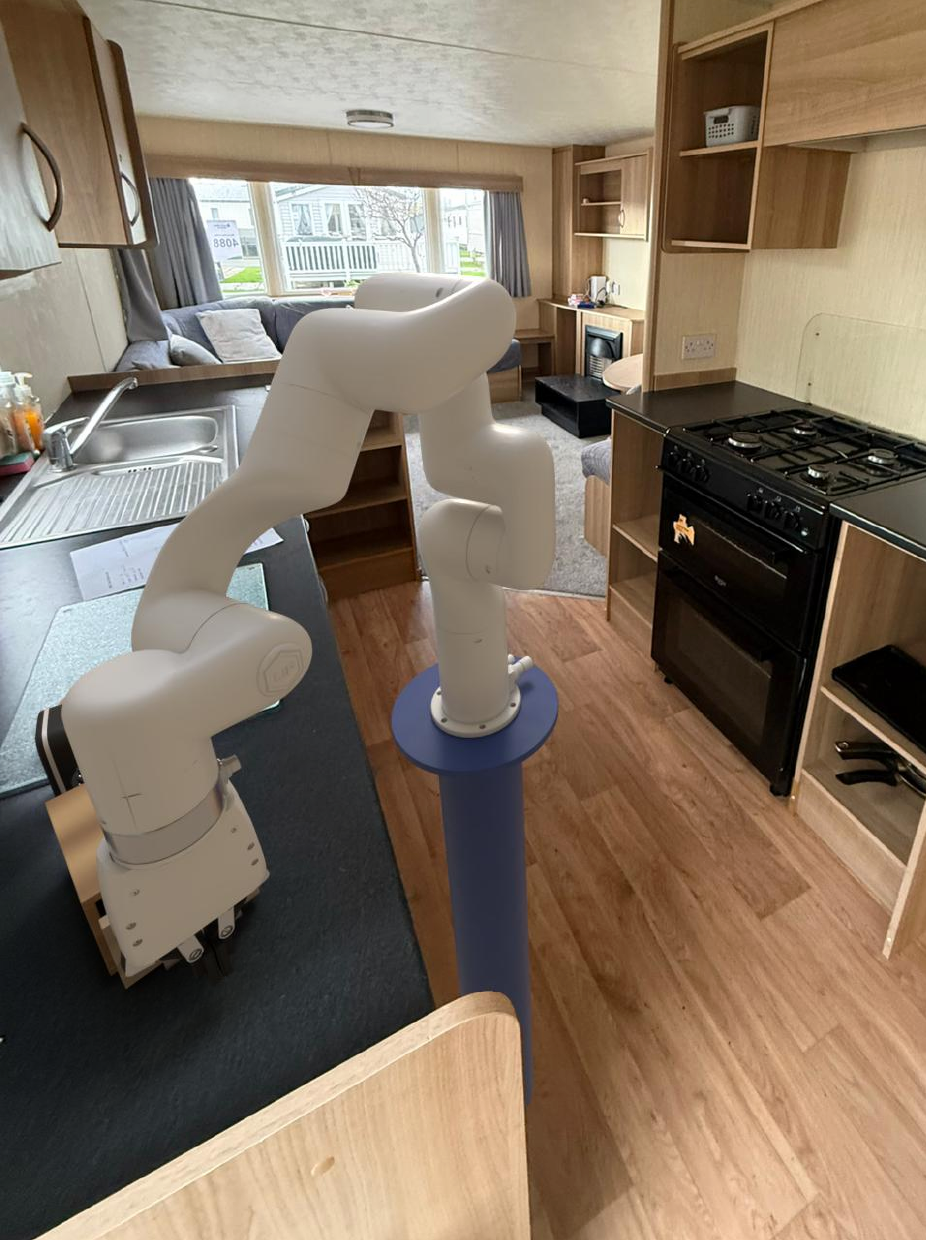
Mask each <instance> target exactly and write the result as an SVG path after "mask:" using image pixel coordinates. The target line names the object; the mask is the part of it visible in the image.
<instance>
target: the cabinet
mask: <svg viewBox="0 0 926 1240" xmlns="http://www.w3.org/2000/svg"><path fill="white" fill-rule="evenodd" d="M44 806H45V808H46V811H47V813H48V817H49V819H50V822H51V824H52V827H53V831H54V834H55V836H56V839H57V842H58V844H59V847H60V849H61V852H62V856H63V859H64V861H65V864H66V866H67V869H68V872H69V874H70V877H71V879H72V882H73V886H74V889H75V891H76V894H77V897H78V900H79V902H80V905H81V907H82V910H83V913H84V914H85V917H86V920H87V922H88V924H89V927H90V930H91V932H92V934H93V936H94V939H95V941H96V944H97V946H98V949H99V952H100V954H101V956H102V958H103V961H104V963H105V965H106V968H107V971H108V973H109V975H110V977H112V976H113V975H116V973H119V972H118V969H117V967H116V964H115V962H114V959H113V957H112V954H111V952H110V949H109V947H108V944H107V942H106V939H105V937H104V934H103V932H102V929H101V927H100V924H99V922H98V920H99V919H100V918H102V917H104V916H105V915H107V914H106V910H105V907H104V903H103V900H102V896H101V892H100V887H99V882H98V876H97V867H96V851H97V847H98V845H99V843H100V841H101V840H102V839H103V838H104V834H103V832H102V829H101V826H100V824H99V821H98V818H97V815H96V813H95V810H94V807H93V805H92V802H91V799H90V797H89V794H88V791H87V789H86V786H85V783H83V784H81V785H79V786H77V787H75V788H73V789H71V790H69V791H67V792H65V793H63V794H61V795H59V796H57V797H55V796H54V797H53V798H52V799H49V800H47V801H45V802H44Z"/></svg>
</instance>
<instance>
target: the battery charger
mask: <svg viewBox="0 0 926 1240" xmlns="http://www.w3.org/2000/svg"><path fill="white" fill-rule="evenodd" d="M61 711H62V704H61V705H55V706H51V707H46V708H44V709H43V710H40V711H39V712H38V714H37V717H36V723H35V731H34V732H35V733H34V744H35V749H36V752H37V755H38V758H39V760H40V762H41V765H42V768H43V771H44V773H45V775H46V778H47V780H48V783H49V785H50V787H51V790H52V792H53V795H54V798H55V797H57V796H59V795H61V794H63V793H65V792H67V791H69V790H71V789H73V788H75V787H77V786H79V785H81V784H83V783H84V780H83V778H82V775H81V772H80V770H79V767H78V764H77V762H76V759H75V756H74V753H73V751H72V748H71V745H70V743H69V740H68V737H67V735H66V732H65V729H64V725H63V722H62V718H61Z"/></svg>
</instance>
